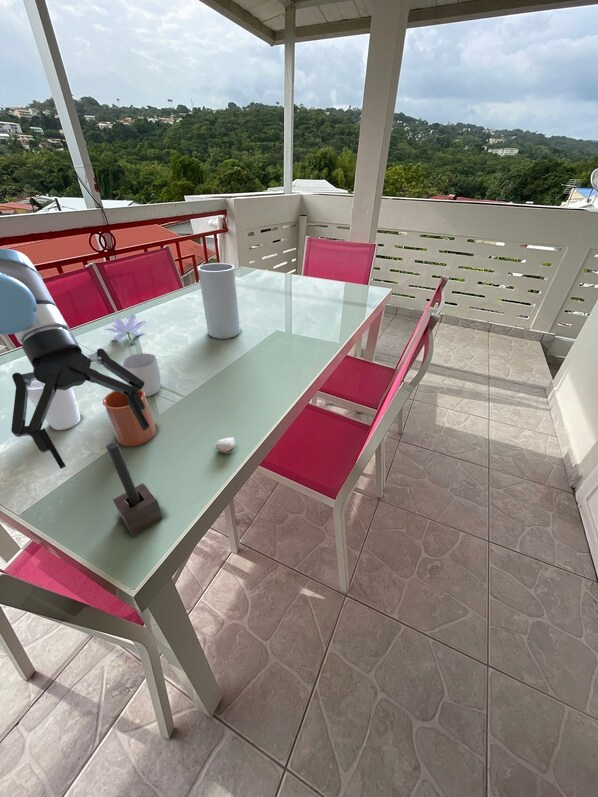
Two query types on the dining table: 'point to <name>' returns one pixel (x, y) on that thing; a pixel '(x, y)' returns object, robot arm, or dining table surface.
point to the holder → (138, 510)
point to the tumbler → (128, 419)
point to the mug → (144, 371)
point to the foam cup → (57, 406)
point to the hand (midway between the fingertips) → (107, 446)
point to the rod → (123, 473)
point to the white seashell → (225, 445)
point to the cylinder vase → (219, 299)
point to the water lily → (126, 327)
